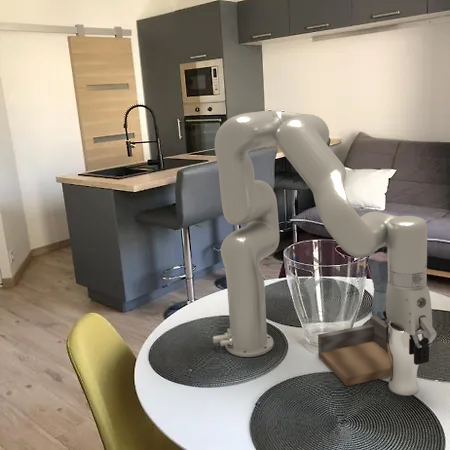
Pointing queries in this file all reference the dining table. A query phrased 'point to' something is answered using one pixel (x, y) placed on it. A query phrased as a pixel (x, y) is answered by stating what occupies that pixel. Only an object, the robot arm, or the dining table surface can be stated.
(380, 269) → the moka pot
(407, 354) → the beer glass
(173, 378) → the dining table surface
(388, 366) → the wooden corner tray
